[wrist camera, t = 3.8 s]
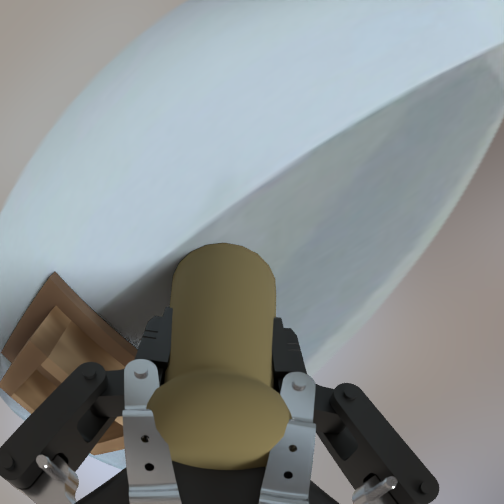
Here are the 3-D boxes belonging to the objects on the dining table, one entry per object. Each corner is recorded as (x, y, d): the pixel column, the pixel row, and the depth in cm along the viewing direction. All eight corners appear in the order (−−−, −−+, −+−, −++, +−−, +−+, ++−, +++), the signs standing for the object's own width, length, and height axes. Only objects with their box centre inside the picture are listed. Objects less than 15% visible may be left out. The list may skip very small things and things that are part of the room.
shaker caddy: (4, 347, 18) (-16, 377, 14) (55, 271, 15) (18, 310, 11) (109, 430, 23) (100, 463, 19) (198, 394, 20) (194, 442, 16)
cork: (150, 278, 16) (81, 453, 6) (238, 221, 15) (244, 417, 5) (213, 344, 18) (204, 507, 8) (294, 302, 17) (344, 477, 7)
